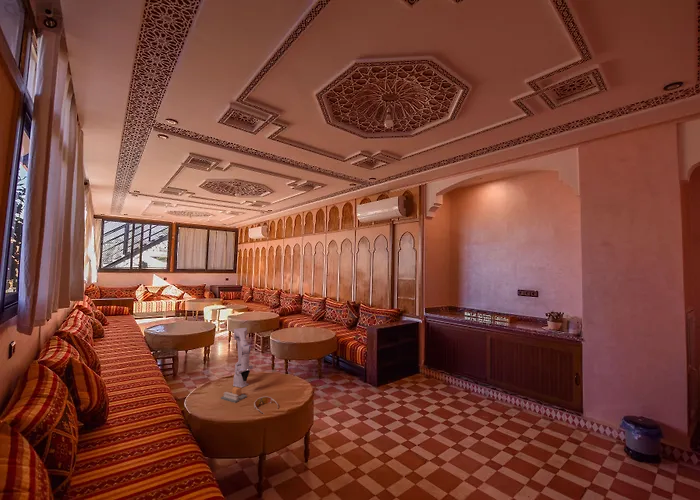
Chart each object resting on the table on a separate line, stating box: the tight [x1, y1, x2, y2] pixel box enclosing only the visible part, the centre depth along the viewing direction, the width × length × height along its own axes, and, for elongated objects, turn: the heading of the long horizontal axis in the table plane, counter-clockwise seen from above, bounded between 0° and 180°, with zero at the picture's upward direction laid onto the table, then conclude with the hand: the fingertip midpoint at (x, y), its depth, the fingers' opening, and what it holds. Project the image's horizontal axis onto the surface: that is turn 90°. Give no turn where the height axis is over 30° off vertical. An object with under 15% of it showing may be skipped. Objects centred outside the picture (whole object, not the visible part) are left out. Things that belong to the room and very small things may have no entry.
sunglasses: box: [253, 395, 279, 415], centre depth 212 cm, size 14×15×5 cm
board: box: [220, 391, 248, 404], centre depth 227 cm, size 14×11×4 cm
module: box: [231, 386, 243, 396], centre depth 229 cm, size 4×5×5 cm
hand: (244, 381), depth 236 cm, fingers closed
